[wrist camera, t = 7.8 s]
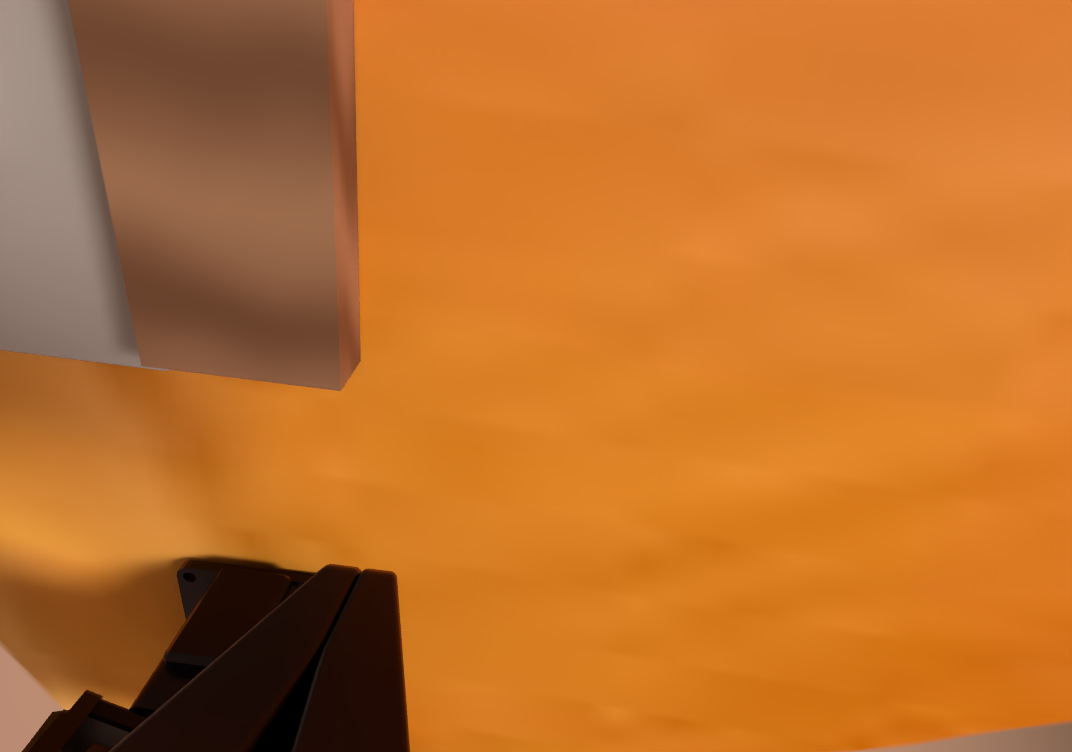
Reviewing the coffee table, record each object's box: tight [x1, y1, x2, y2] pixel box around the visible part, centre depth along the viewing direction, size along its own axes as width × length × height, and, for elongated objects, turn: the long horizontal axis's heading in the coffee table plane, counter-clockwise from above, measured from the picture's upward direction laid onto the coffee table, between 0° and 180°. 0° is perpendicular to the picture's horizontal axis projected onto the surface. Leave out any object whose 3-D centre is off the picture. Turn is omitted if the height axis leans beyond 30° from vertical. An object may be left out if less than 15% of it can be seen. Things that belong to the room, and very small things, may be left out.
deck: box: [68, 0, 360, 391], centre depth 17 cm, size 16×6×2 cm, turn 174°
